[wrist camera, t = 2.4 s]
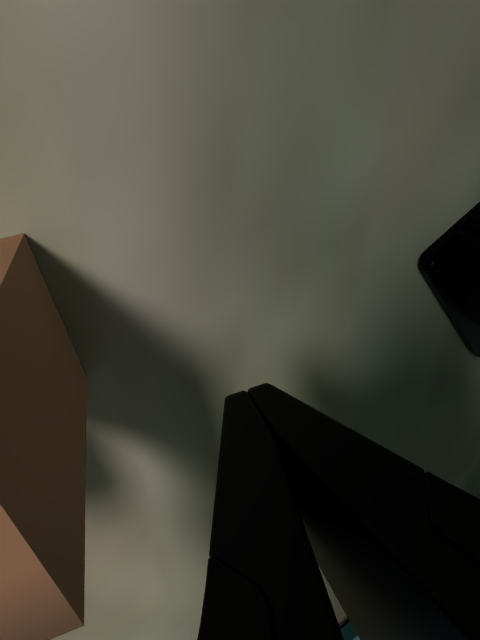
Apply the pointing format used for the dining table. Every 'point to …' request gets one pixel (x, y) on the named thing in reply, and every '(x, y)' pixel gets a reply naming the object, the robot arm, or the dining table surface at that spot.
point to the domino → (39, 457)
